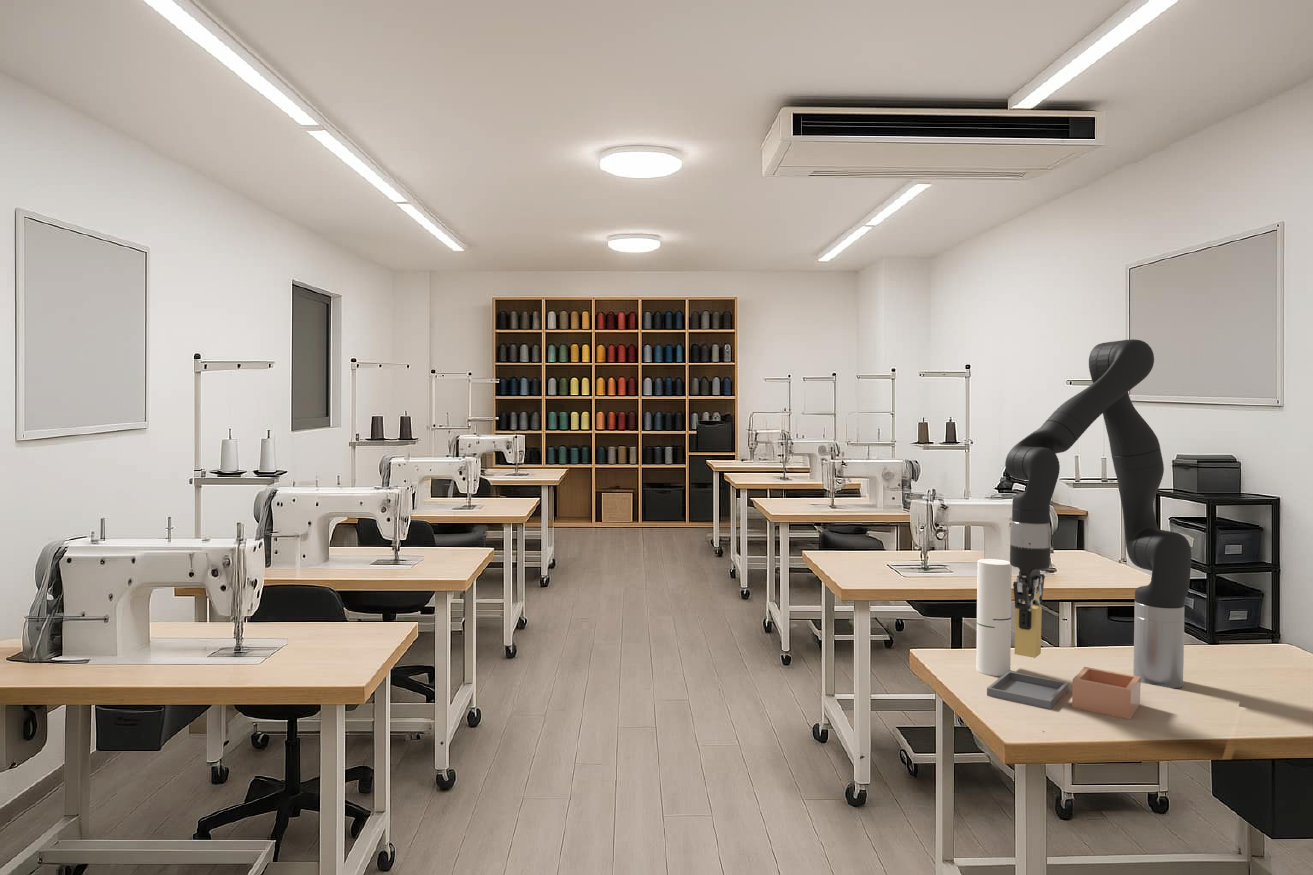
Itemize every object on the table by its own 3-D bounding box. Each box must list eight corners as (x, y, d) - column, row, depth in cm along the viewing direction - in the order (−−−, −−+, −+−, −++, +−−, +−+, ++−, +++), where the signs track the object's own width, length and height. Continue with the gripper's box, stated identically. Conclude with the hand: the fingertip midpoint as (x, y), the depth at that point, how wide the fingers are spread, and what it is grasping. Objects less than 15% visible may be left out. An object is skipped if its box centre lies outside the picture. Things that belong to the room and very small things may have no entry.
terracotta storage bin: (1084, 697, 166) (1084, 666, 166) (1140, 709, 160) (1140, 676, 159) (1072, 711, 158) (1072, 679, 158) (1130, 724, 152) (1130, 690, 152)
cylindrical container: (1013, 676, 179) (1014, 565, 178) (979, 674, 181) (980, 564, 180) (1006, 666, 186) (1007, 559, 185) (973, 665, 188) (974, 558, 187)
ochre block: (1020, 649, 169) (1021, 602, 169) (1040, 653, 166) (1041, 605, 166) (1014, 654, 166) (1015, 605, 166) (1035, 657, 163) (1036, 608, 163)
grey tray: (1008, 682, 176) (1008, 670, 176) (1068, 694, 168) (1068, 682, 168) (986, 699, 165) (986, 687, 165) (1050, 714, 157) (1050, 701, 157)
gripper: (1040, 550, 158) (1038, 637, 158) (1059, 541, 168) (1057, 623, 169) (1000, 545, 162) (998, 630, 163) (1021, 537, 173) (1019, 617, 174)
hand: (1028, 626), depth 166 cm, fingers closed on ochre block, 4 cm apart
